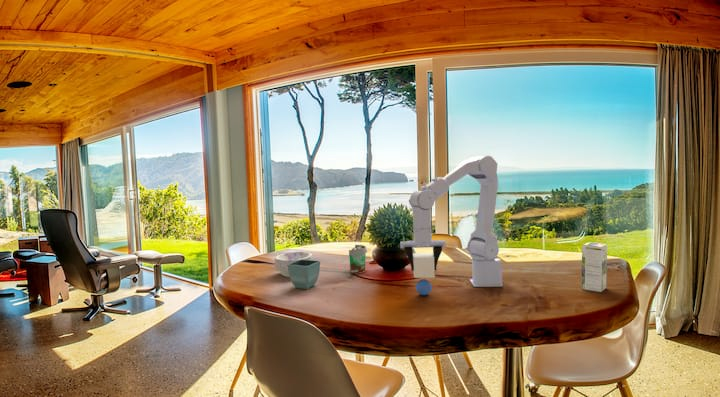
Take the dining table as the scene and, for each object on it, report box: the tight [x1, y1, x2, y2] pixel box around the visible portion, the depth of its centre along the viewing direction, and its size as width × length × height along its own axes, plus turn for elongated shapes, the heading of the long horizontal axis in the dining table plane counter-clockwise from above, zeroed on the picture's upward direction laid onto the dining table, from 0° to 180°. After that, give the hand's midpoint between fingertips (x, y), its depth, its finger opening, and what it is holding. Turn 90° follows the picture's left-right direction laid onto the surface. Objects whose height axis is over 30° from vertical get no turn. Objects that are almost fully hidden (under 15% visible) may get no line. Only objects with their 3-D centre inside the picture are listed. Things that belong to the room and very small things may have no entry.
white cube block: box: [412, 252, 436, 279], centre depth 122 cm, size 6×6×6 cm
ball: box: [415, 278, 432, 296], centre depth 122 cm, size 5×5×5 cm
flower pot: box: [288, 259, 321, 290], centre depth 136 cm, size 9×9×9 cm
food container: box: [348, 244, 368, 275], centre depth 155 cm, size 12×6×10 cm, turn 168°
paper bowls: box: [274, 251, 313, 278], centre depth 155 cm, size 15×15×8 cm
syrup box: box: [581, 241, 608, 293], centre depth 120 cm, size 6×6×14 cm
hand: (423, 269), depth 122 cm, fingers closed on white cube block, 6 cm apart
